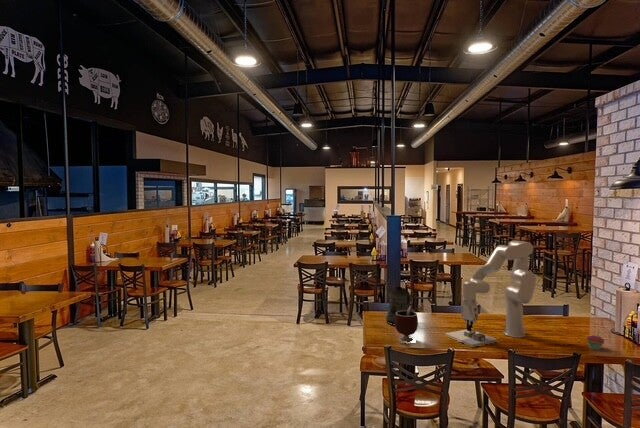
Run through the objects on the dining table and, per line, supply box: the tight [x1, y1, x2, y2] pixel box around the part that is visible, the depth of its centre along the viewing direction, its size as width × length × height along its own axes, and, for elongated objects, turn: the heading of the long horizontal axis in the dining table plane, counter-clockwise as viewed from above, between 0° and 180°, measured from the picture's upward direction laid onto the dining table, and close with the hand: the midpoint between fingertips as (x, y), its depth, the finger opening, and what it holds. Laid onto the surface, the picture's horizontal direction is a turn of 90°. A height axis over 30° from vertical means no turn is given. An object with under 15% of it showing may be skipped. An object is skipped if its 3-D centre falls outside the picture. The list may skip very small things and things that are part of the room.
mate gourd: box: [394, 305, 419, 342], centre depth 249 cm, size 16×14×20 cm
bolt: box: [470, 326, 484, 341], centre depth 245 cm, size 10×2×6 cm, turn 24°
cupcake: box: [586, 328, 605, 351], centre depth 231 cm, size 9×8×12 cm
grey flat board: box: [445, 328, 498, 348], centre depth 249 cm, size 22×20×5 cm
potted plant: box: [385, 286, 412, 324], centre depth 286 cm, size 16×19×25 cm
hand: (469, 330), depth 250 cm, fingers closed
